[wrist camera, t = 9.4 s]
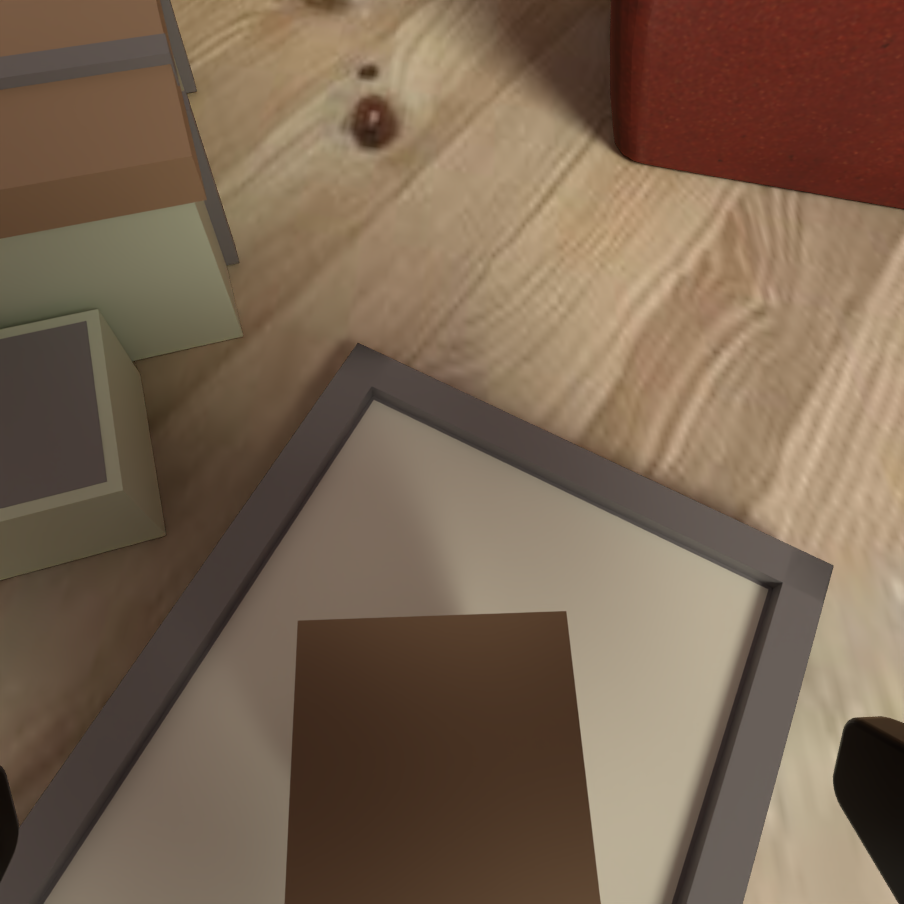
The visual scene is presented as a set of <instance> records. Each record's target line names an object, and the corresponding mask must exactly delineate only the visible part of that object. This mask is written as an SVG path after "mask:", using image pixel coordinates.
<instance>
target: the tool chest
mask: <svg viewBox="0 0 904 904" xmlns="http://www.w3.org/2000/svg"><path fill="white" fill-rule="evenodd" d="M196 91H197V90H196V86H195V82H194V78H193V75H192V71H191V68H190V65H189V61H188V58H187V55H186V51H185V48H184V45H183V41H182V38H181V35H180V32H179V28H178V25H177V22H176V18H175V15H174V12H173V8H172V5H171V2H170V0H0V580H3V579H7V578H11V577H14V576H18V575H22V574H26V573H29V572H33V571H37V570H40V569H44V568H48V567H51V566H55V565H59V564H63V563H66V562H70V561H74V560H77V559H81V558H85V557H88V556H92V555H96V554H100V553H103V552H107V551H111V550H114V549H118V548H122V547H125V546H129V545H133V544H136V543H140V542H144V541H148V540H151V539H155V538H159V537H162V536H166V531H165V525H164V518H163V512H162V506H161V500H160V493H159V487H158V481H157V475H156V469H155V462H154V456H153V450H152V444H151V437H150V431H149V425H148V419H147V413H146V406H145V400H144V394H143V388H142V381H141V375H140V373H139V371H138V370H137V368H136V367H135V365H134V364H133V362H132V361H136V360H140V359H144V358H149V357H153V356H158V355H162V354H167V353H171V352H176V351H180V350H185V349H189V348H193V347H198V346H202V345H207V344H211V343H216V342H220V341H225V340H229V339H233V338H238V337H242V336H243V332H242V328H241V324H240V320H239V316H238V311H237V307H236V303H235V299H234V295H233V290H232V286H231V282H230V278H229V274H228V269H227V265H231V264H236V263H239V259H238V255H237V251H236V247H235V244H234V240H233V237H232V234H231V231H230V228H229V225H228V222H227V219H226V215H225V212H224V209H223V206H222V203H221V200H220V197H219V193H218V190H217V187H216V184H215V181H214V178H213V175H212V172H211V168H210V165H209V162H208V159H207V156H206V153H205V150H204V146H203V143H202V140H201V137H200V134H199V131H198V128H197V125H196V121H195V118H194V115H193V112H192V109H191V106H190V103H189V99H188V96H187V93H190V92H196Z"/></svg>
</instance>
